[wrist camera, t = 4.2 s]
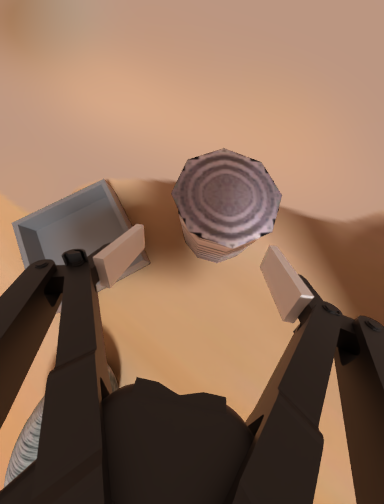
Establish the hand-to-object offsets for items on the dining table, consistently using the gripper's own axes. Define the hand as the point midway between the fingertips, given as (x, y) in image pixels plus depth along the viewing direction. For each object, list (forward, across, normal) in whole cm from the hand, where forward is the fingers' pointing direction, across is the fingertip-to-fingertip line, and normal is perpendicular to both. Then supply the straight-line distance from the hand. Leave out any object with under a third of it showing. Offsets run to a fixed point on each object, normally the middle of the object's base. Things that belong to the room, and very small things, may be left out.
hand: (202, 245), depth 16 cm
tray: (+7, -20, -8) cm, 23 cm away
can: (+12, +2, -3) cm, 12 cm away
